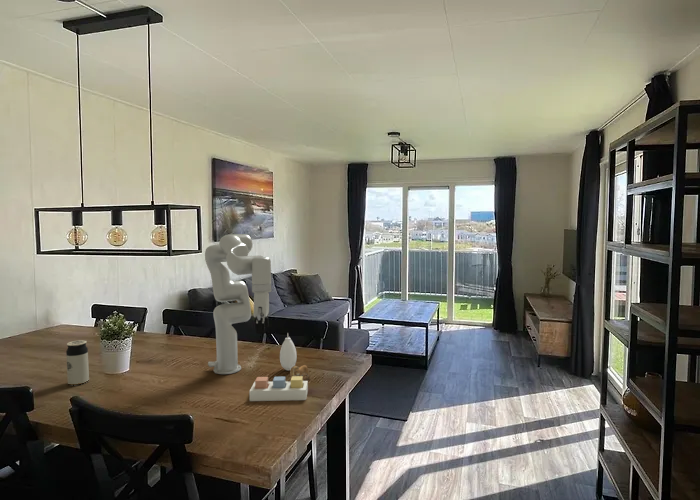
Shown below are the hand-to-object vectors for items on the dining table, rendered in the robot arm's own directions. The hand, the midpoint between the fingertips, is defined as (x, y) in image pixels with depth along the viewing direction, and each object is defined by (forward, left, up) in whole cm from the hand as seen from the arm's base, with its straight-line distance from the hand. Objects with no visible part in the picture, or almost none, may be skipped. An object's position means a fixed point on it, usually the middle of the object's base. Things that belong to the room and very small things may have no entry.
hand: (262, 330), depth 173 cm
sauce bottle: (+6, +30, -27) cm, 41 cm away
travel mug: (-85, +18, -27) cm, 91 cm away
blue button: (+6, -1, -24) cm, 24 cm away
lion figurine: (+14, +13, -27) cm, 33 cm away
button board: (+6, -1, -27) cm, 27 cm away
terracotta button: (-1, -1, -23) cm, 24 cm away
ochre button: (+13, -1, -24) cm, 27 cm away
